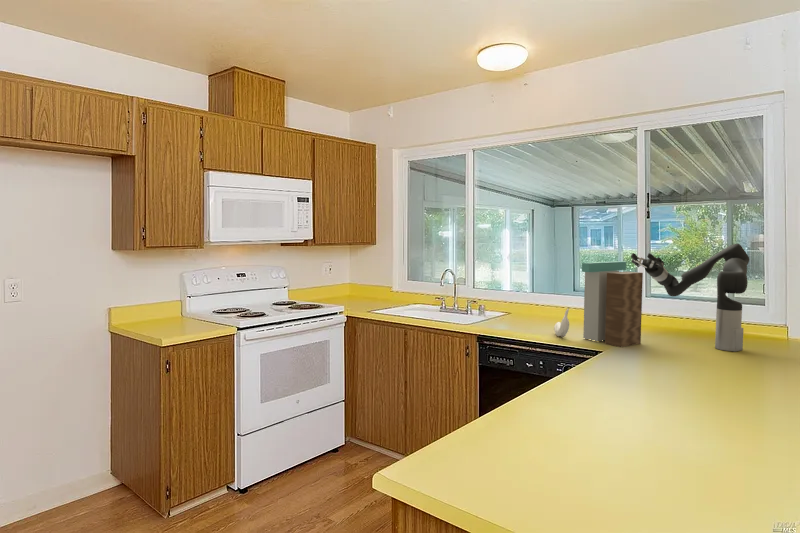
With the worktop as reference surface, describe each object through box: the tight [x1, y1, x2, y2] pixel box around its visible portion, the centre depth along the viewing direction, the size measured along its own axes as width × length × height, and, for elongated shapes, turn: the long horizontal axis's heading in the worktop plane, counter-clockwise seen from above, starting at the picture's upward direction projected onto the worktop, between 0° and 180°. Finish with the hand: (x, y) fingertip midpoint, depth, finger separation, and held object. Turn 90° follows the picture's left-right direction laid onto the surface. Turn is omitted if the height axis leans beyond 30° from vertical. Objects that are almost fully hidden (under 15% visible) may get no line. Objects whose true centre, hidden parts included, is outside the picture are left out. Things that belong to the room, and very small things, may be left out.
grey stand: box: [582, 270, 620, 342], centre depth 245 cm, size 14×8×32 cm, turn 121°
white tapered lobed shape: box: [553, 308, 570, 338], centre depth 252 cm, size 5×19×15 cm, turn 179°
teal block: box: [581, 260, 627, 273], centre depth 245 cm, size 26×4×4 cm, turn 121°
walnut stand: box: [604, 271, 644, 348], centre depth 235 cm, size 14×8×32 cm, turn 121°
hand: (640, 254), depth 256 cm, fingers open, 8 cm apart
